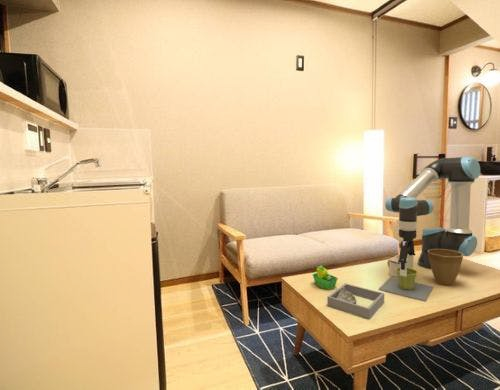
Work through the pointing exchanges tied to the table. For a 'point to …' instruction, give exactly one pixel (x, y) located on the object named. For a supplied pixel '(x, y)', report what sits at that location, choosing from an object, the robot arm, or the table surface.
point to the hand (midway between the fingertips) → (406, 271)
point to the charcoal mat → (417, 292)
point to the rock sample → (346, 296)
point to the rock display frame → (355, 308)
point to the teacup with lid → (394, 265)
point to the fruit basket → (324, 278)
